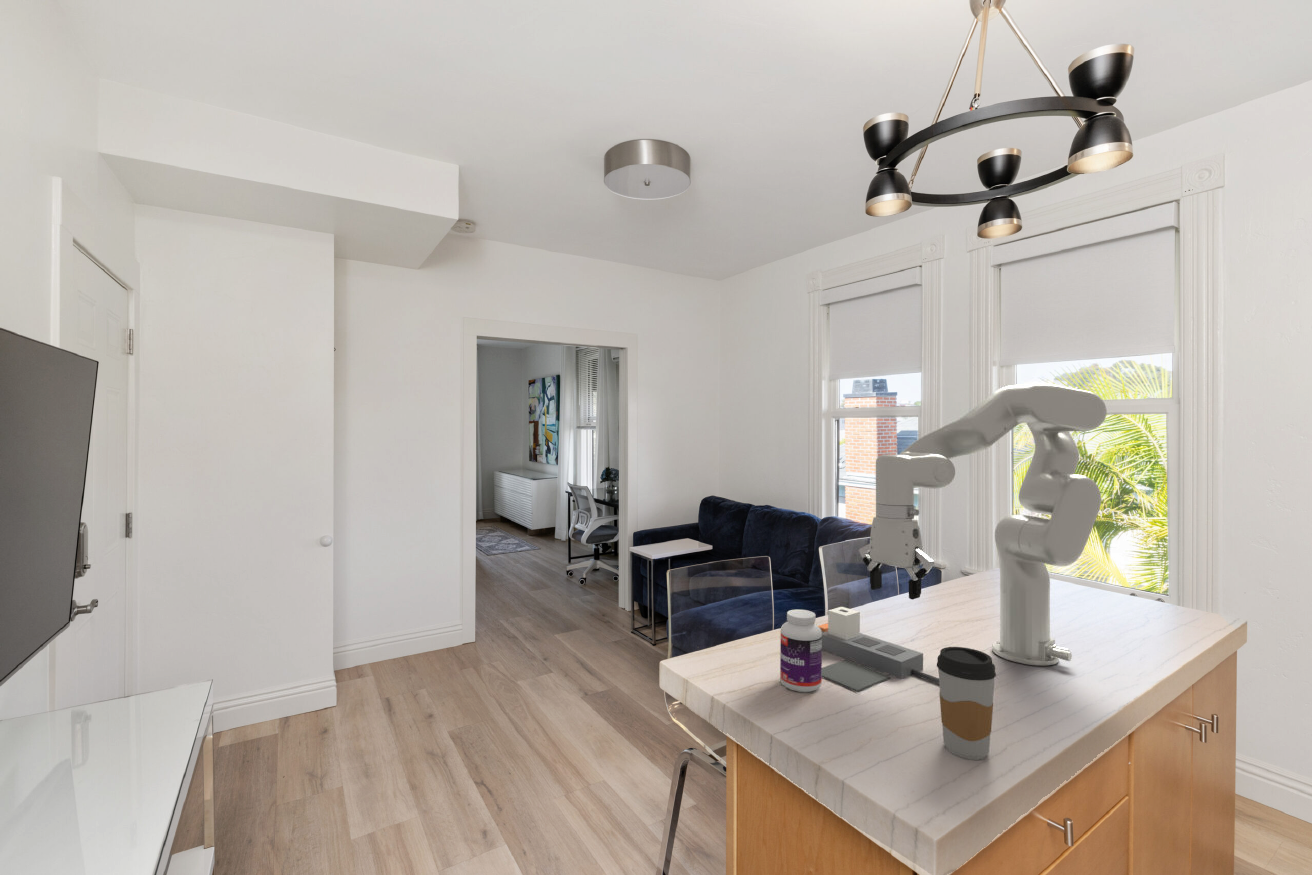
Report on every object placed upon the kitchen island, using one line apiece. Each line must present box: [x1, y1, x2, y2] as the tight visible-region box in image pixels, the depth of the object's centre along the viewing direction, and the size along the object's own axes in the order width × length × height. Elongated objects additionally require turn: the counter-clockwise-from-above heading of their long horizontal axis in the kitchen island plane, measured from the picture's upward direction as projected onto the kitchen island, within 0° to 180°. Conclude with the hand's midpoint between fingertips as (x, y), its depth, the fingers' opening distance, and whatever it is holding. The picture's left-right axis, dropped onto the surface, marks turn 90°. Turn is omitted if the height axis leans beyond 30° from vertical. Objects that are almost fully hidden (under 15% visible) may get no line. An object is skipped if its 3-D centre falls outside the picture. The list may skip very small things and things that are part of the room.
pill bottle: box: [779, 609, 823, 693], centre depth 115 cm, size 8×8×14 cm
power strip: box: [817, 622, 939, 684], centre depth 125 cm, size 36×8×4 cm, turn 35°
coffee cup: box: [936, 646, 997, 761], centre depth 91 cm, size 8×8×15 cm
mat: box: [822, 658, 892, 693], centre depth 119 cm, size 11×11×1 cm
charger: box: [827, 606, 861, 640], centre depth 134 cm, size 5×5×6 cm
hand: (894, 593), depth 123 cm, fingers open, 8 cm apart
